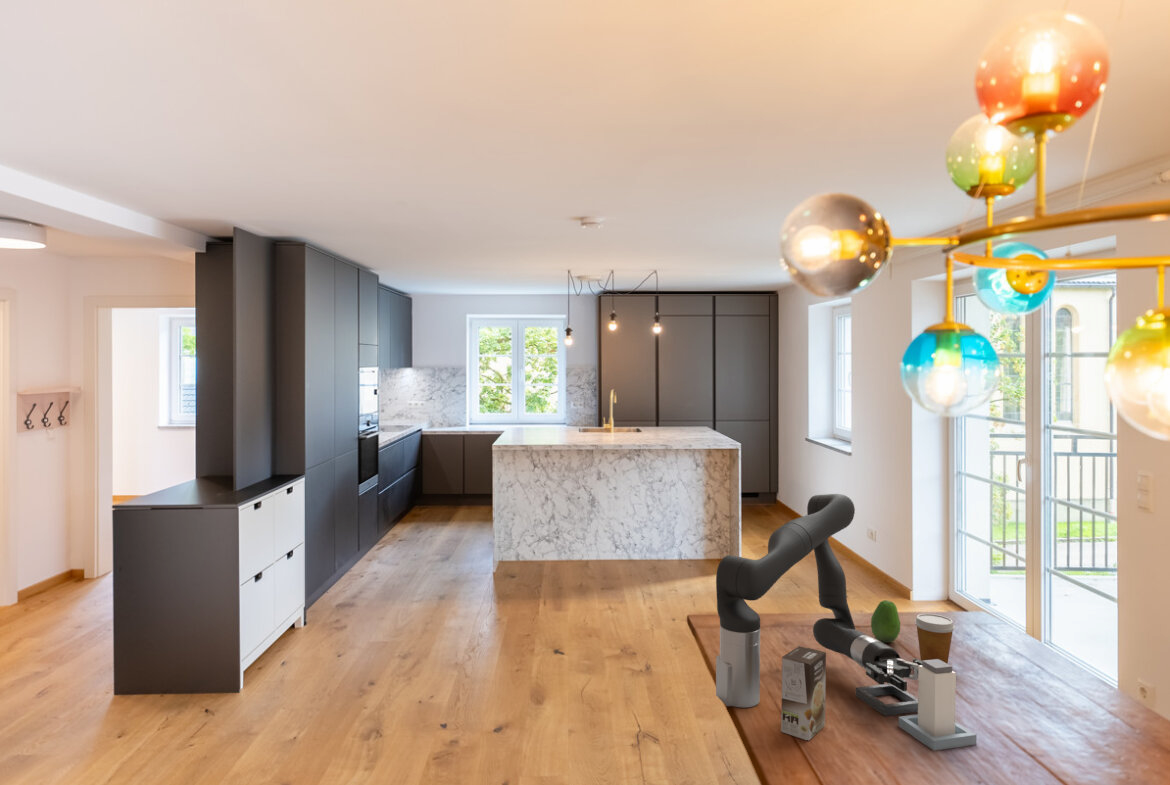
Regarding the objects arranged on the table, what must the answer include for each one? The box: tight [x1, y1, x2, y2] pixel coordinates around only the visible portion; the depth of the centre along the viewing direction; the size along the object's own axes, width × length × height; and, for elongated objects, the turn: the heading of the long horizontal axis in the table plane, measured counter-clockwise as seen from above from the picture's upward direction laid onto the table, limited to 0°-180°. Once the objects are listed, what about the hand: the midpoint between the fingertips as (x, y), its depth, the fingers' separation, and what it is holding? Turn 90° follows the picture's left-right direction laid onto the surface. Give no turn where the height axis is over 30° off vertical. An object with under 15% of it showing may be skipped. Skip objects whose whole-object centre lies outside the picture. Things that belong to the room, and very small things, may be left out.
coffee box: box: [780, 645, 827, 741], centre depth 149 cm, size 9×6×16 cm
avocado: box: [870, 600, 901, 644], centre depth 200 cm, size 8×8×12 cm
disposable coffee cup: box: [914, 613, 956, 664], centre depth 184 cm, size 10×10×12 cm
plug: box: [917, 659, 957, 737], centre depth 147 cm, size 5×5×15 cm
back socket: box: [855, 683, 918, 717], centre depth 161 cm, size 10×10×2 cm
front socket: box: [898, 713, 977, 751], centre depth 147 cm, size 10×10×2 cm
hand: (922, 684), depth 151 cm, fingers open, 8 cm apart
